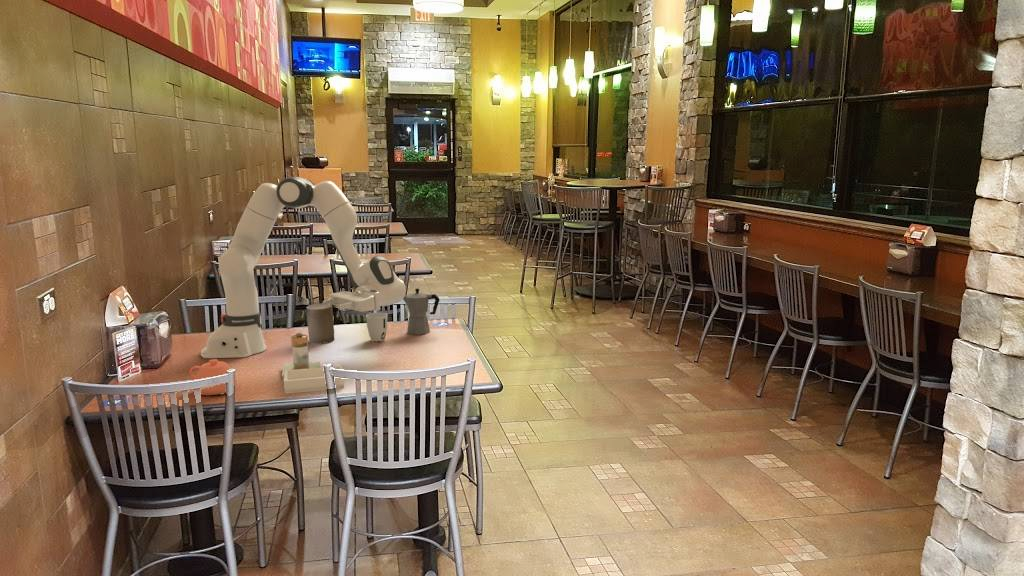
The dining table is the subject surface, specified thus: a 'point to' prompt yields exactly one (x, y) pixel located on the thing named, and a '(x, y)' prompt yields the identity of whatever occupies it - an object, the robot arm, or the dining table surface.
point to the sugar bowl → (212, 370)
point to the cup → (377, 326)
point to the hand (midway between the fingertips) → (331, 305)
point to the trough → (308, 380)
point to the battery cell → (300, 351)
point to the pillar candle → (320, 323)
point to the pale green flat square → (290, 367)
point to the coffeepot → (419, 311)
